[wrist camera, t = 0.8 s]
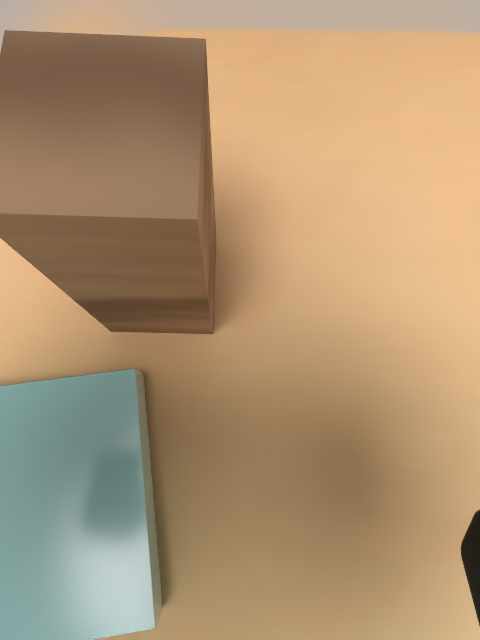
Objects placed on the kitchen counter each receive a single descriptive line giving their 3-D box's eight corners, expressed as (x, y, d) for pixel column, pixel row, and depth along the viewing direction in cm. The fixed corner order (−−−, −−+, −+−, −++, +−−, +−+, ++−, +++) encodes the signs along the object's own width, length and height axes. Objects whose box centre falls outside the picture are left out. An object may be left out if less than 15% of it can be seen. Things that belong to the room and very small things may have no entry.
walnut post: (212, 333, 21) (197, 219, 10) (111, 331, 21) (-30, 212, 10) (216, 240, 22) (205, 39, 11) (119, 237, 22) (4, 30, 11)
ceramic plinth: (164, 603, 19) (154, 628, 16) (-75, 642, 18) (-121, 675, 16) (145, 375, 21) (135, 368, 19) (-66, 403, 20) (-105, 399, 18)
